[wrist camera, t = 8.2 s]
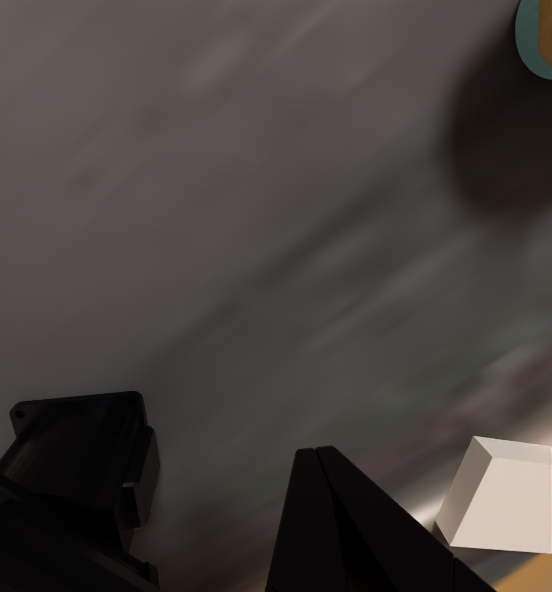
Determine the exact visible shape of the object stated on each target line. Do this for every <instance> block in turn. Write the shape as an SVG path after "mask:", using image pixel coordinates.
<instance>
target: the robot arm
mask: <svg viewBox="0 0 552 592" xmlns="http://www.w3.org/2000/svg"><path fill="white" fill-rule="evenodd" d="M130 399H133V400H135V401H136V403H131V402H129V400H130ZM19 410H22V411H24V412H25V414H22V413H20V412H19ZM10 418H11V421H12V424H13V428H14V431H15V434H16V440H15V441H14V442H13V444H12V445H11V446H10V448H9V449H8V450H7V451H6V453H5V454H4V455H3V457H2V458H1V459H0V592H160V587H159V579H158V572H157V568H156V567H154V566H153V565H151V564H150V563H148V562H146V563H143V562H141V561H140V560H138V559H136V558H135V557H133V556H132V555H130V554H128V553H129V549H130V545H131V541H132V537H133V533H134V530H139V529H143V528H144V527H145V525H146V524H147V522H148V517H149V513H150V508H151V504H152V499H153V494H154V490H155V488H156V483H157V476H158V472H159V467H160V462H159V456H158V450H157V444H156V438H155V432H154V429H153V428H152V427H151V426H148V425H147V419H146V413H145V408H144V402H143V397H142V395H141V394H140V393H138V392H136V391H127V392H117V393H107V394H96V395H86V396H75V397H65V398H54V399H44V400H33V401H23V402H18V403H17V404H15V405H14V407H13V408H12V409H11V411H10ZM265 592H497V591H496V590H495V589H493V588H492V587H491V586H490V585H489V584H488V583H486V582H485V581H484V580H483V579H482V578H481V577H479V576H478V575H477V574H476V573H475V572H474V571H473V570H471V569H470V568H469V567H468V566H467V565H466V564H465V563H464V562H463V561H461V560H460V559H459V558H458V557H455V558H454V554H453V553H452V552H451V551H450V550H449V549H448V548H447V547H446V546H444V545H443V544H442V543H441V542H440V541H439V540H438V539H437V538H436V537H434V536H433V535H432V534H431V533H430V532H429V531H428V530H427V529H426V528H424V527H423V526H422V525H421V524H420V523H419V522H418V521H417V520H415V519H414V518H413V517H412V516H411V515H410V514H409V513H408V512H407V511H405V510H404V509H403V508H402V507H401V506H400V505H399V504H398V503H397V502H395V501H394V500H393V499H392V498H391V497H390V496H389V495H388V494H386V493H385V492H384V491H383V490H382V489H381V488H380V487H379V486H378V485H376V484H375V483H374V482H373V481H372V480H371V479H370V478H369V477H368V476H366V475H365V474H364V473H363V472H362V471H361V470H360V469H359V468H358V467H356V466H355V465H354V464H353V463H352V462H351V461H350V460H349V459H347V458H346V457H345V456H344V455H343V454H342V453H341V452H340V451H339V450H337V449H336V448H335V447H334V446H322V447H317V448H316V449H314V448H304V449H298V450H297V451H296V453H295V458H294V462H293V467H292V471H291V476H290V480H289V485H288V489H287V494H286V498H285V503H284V507H283V512H282V516H281V521H280V525H279V530H278V534H277V539H276V543H275V548H274V552H273V557H272V561H271V566H270V570H269V575H268V579H267V586H266V587H265Z"/></svg>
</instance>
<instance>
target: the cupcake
mask: <svg viewBox="0 0 552 592" xmlns="http://www.w3.org/2000/svg"><path fill="white" fill-rule="evenodd" d="M515 38H516V45H517V49H518V52H519V54H520V57H521V59H522V60H523V62H524V64H525V65H526V66H527V67H528V68H529V69H530V70H531V71H532V72H533V73H535V74H536V75H538V76H540V77H543V78H546V79H551V80H552V0H521V2H520V5H519V8H518V12H517V16H516V23H515Z"/></svg>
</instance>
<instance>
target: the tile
mask: <svg viewBox="0 0 552 592" xmlns="http://www.w3.org/2000/svg"><path fill="white" fill-rule="evenodd" d="M435 521H436V523H437V525H438V526H439V528H440V530H441V531H442V533H443V535H444V537H445V538H446V540H447V542H448V543H449V545H450V546H457V547H471V548H484V549H497V550H510V551H524V552H537V553H550V554H552V447H551V446H543V445H536V444H529V443H521V442H514V441H506V440H499V439H492V438H484V437H477V436H473V438H472V440H471V443H470V445H469V447H468V449H467V451H466V454H465V456H464V458H463V460H462V462H461V465H460V467H459V469H458V471H457V473H456V476H455V478H454V480H453V482H452V484H451V487H450V489H449V491H448V493H447V495H446V498H445V500H444V502H443V504H442V506H441V509H440V511H439V513H438V515H437V517H436V520H435Z"/></svg>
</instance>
